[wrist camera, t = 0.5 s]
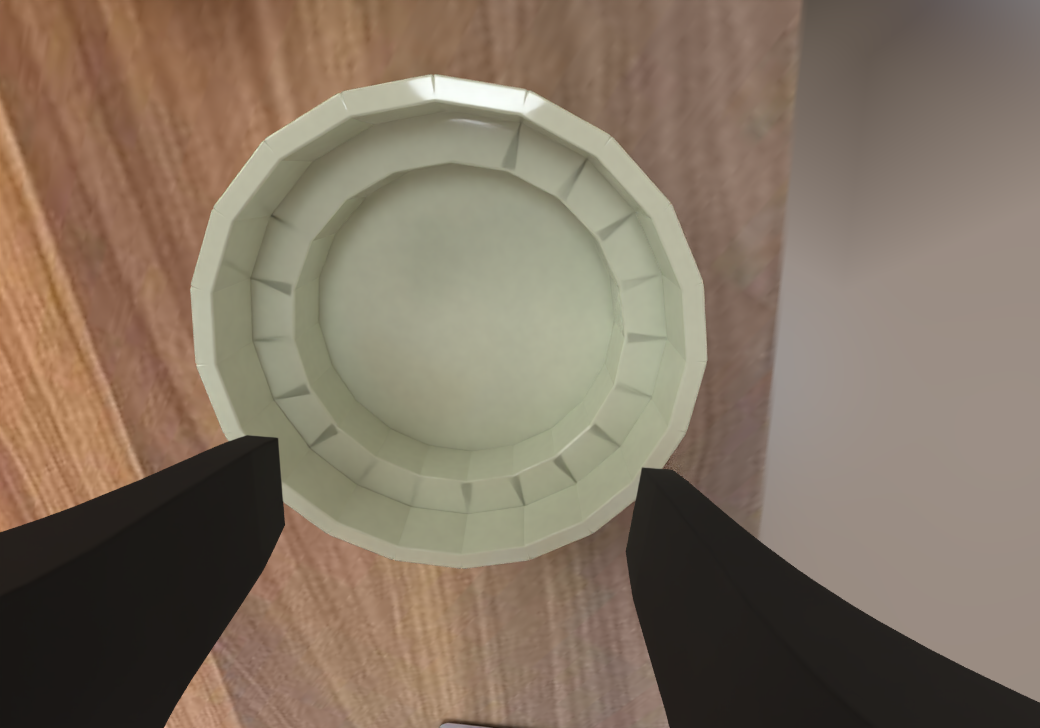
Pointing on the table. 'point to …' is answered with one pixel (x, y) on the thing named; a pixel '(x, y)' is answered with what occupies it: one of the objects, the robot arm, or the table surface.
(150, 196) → the table surface
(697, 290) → the bowl
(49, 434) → the table surface
